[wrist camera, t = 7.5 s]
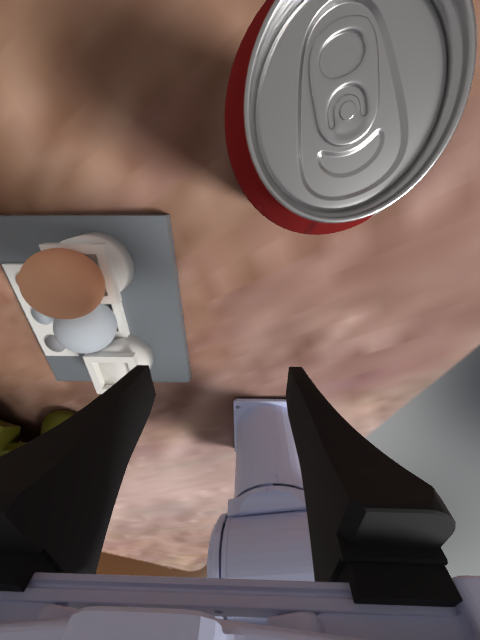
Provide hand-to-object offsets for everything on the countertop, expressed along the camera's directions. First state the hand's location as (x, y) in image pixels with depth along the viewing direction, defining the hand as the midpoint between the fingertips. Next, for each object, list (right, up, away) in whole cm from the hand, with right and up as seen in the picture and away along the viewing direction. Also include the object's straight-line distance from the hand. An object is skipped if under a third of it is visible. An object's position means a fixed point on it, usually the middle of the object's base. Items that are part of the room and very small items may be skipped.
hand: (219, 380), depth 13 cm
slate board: (-11, +4, +10) cm, 16 cm away
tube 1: (-10, +8, +7) cm, 14 cm away
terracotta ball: (-10, +5, +3) cm, 12 cm away
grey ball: (-11, +3, +7) cm, 14 cm away
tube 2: (-10, 0, +11) cm, 15 cm away
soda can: (+4, +14, +4) cm, 16 cm away
